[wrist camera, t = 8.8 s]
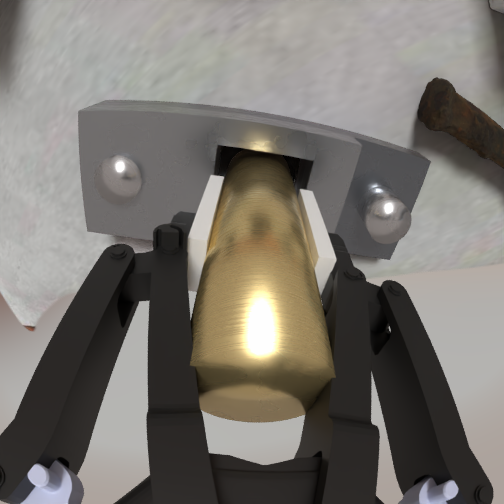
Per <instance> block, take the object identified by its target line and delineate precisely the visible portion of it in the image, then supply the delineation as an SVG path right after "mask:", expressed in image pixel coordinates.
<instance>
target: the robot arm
mask: <svg viewBox="0 0 504 504" xmlns="http://www.w3.org/2000/svg"><path fill="white" fill-rule="evenodd" d="M223 181H224V177H223V176H215V175H211V176H210V178H209V181H208V184H207V186H206V189H205V192H204V194H203V197H202V200H201V202H200V205H199V208H198V211H197V213H190V212H183V211H180V212H178V213H177V214H176V215H174V216H173V218H172V221H171V223H168V224H162V225H159V226H157V227H156V228H155V229H154V231H153V251H150V252H146V253H135V254H134V250H133V248H132V247H130V246H129V245H125V244H115V245H112V246H110V247H108V248H106V249H105V250H104V252H103V253H102V255H101V256H100V258H99V259H98V261H97V262H96V264H95V265H94V267H93V268H92V270H91V271H90V273H89V275H88V276H87V278H86V279H85V281H84V283H83V284H82V286H81V287H80V289H79V291H78V292H77V294H76V296H75V297H74V299H73V301H72V302H71V304H70V306H69V308H68V309H67V311H66V313H65V315H64V316H63V318H62V320H61V322H60V323H59V325H58V327H57V329H56V331H55V333H54V335H53V336H52V338H51V340H50V342H49V344H48V346H47V348H46V350H45V352H44V354H43V356H42V358H41V360H40V362H39V364H38V366H37V368H36V370H35V372H34V375H33V377H32V379H31V381H30V383H29V385H28V388H27V390H26V392H25V395H24V397H23V399H22V401H21V404H20V406H19V409H18V411H17V414H16V416H15V419H14V420H13V421H12V422H11V423H10V424H9V426H8V427H7V428H6V429H5V430H4V432H3V433H2V434H1V435H0V500H1V501H3V502H6V503H8V504H81V502H82V498H83V495H84V489H83V485H82V483H81V481H80V479H79V478H78V477H77V474H78V472H79V470H80V468H81V466H82V464H83V462H84V459H85V456H86V453H87V450H88V447H89V443H90V440H91V436H92V433H93V429H94V426H95V422H96V419H97V416H98V413H99V410H100V407H101V403H102V401H103V397H104V394H105V391H106V389H107V386H108V383H109V380H110V377H111V374H112V371H113V368H114V366H115V363H116V360H117V357H118V354H119V352H120V349H121V347H122V344H123V341H124V339H125V336H126V333H127V331H128V328H129V326H130V323H131V321H132V318H133V316H134V313H135V311H136V308H137V306H138V304H139V301H149V300H150V303H149V326H148V327H149V328H148V412H147V440H148V455H149V467H150V476H148V477H147V478H146V479H145V480H144V481H142V482H141V483H140V484H139V485H138V486H136V487H135V488H133V489H132V490H131V491H130V492H128V493H127V494H126V495H125V496H123V497H122V498H121V499H119V500H118V501H117V502H115V503H114V504H384V503H383V502H382V501H381V500H380V499H379V498H378V497H377V496H376V486H377V473H378V459H379V438H380V436H379V429H378V427H377V426H375V425H373V424H372V423H371V371H372V374H373V378H374V381H375V385H376V389H377V393H378V397H379V401H380V405H381V409H382V414H383V418H384V422H385V427H386V430H387V435H388V440H389V444H390V450H391V455H392V460H393V465H394V469H395V474H396V478H397V481H398V484H399V487H400V489H401V491H402V494H403V495H404V497H403V499H402V500H401V501H400V502H399V503H398V504H491V503H492V499H493V487H492V485H491V483H490V481H489V479H488V477H487V476H486V474H485V473H484V471H483V469H482V467H481V466H480V464H479V462H478V461H477V459H476V457H475V456H474V454H473V453H472V451H471V449H470V448H469V445H468V441H467V438H466V435H465V431H464V428H463V425H462V422H461V419H460V416H459V413H458V410H457V407H456V404H455V401H454V399H453V396H452V393H451V390H450V388H449V385H448V383H447V380H446V377H445V375H444V372H443V370H442V367H441V365H440V362H439V360H438V358H437V355H436V353H435V350H434V348H433V346H432V343H431V341H430V339H429V337H428V335H427V332H426V330H425V328H424V326H423V323H422V322H421V319H420V317H419V315H418V313H417V311H416V309H415V307H414V305H413V303H412V301H411V299H410V297H409V295H408V293H407V291H406V289H405V288H404V287H403V286H402V285H401V284H399V283H397V282H395V281H392V280H386V281H384V282H383V284H382V285H381V287H379V286H377V285H374V284H371V283H369V282H367V281H366V278H365V275H364V274H363V273H362V271H360V270H359V269H357V268H356V267H354V266H353V263H352V261H351V258H350V256H349V253H348V250H347V248H346V245H345V243H344V240H343V239H342V238H341V237H340V236H339V235H338V234H334V233H328V232H327V230H326V227H325V224H324V221H323V218H322V216H321V213H320V210H319V207H318V205H317V202H316V199H315V197H314V194H313V191H309V190H303V189H300V191H299V194H298V198H297V199H298V203H299V207H300V211H301V215H302V219H303V223H304V227H305V231H306V235H307V239H308V243H309V247H310V252H311V256H312V260H313V265H314V269H315V274H316V278H317V283H318V287H319V292H320V297H321V300H322V304H323V311H324V316H325V321H326V326H327V331H328V336H329V341H330V347H331V352H332V358H333V365H334V370H335V376H336V378H331V380H330V381H329V383H328V384H327V385H326V387H325V388H324V390H323V391H322V392H321V394H320V395H319V396H318V398H317V399H316V400H315V402H314V403H313V404H312V406H311V407H310V408H309V410H308V411H307V412H306V414H305V420H304V426H303V431H302V437H301V442H300V446H299V448H298V451H297V453H296V455H295V458H294V459H292V460H288V461H283V462H280V463H275V464H270V465H260V464H257V463H253V462H250V461H246V460H243V459H240V458H236V457H233V456H230V455H220V454H211V453H209V452H208V446H207V440H206V433H205V427H204V421H203V416H202V412H201V409H200V403H199V396H198V388H197V380H196V371H195V366H191V365H190V362H191V357H192V351H193V342H192V332H191V320H190V308H189V294H188V290H189V291H196V292H197V290H198V285H199V281H200V277H201V272H202V268H203V264H204V260H205V257H206V254H207V249H208V245H209V241H210V237H211V233H212V228H213V224H214V220H215V216H216V212H217V208H218V204H219V200H220V196H221V192H222V188H223ZM389 326H390V329H391V332H390V331H389V328H388V327H389Z"/></svg>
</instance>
